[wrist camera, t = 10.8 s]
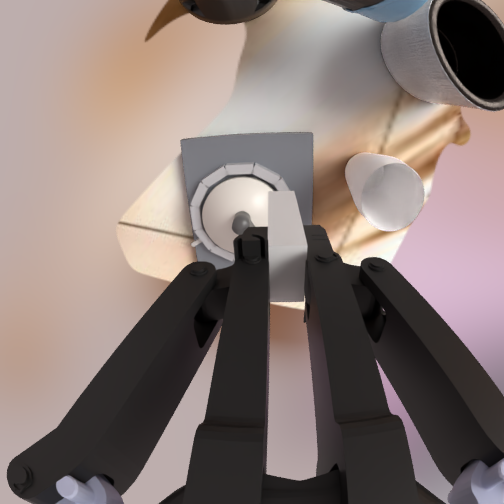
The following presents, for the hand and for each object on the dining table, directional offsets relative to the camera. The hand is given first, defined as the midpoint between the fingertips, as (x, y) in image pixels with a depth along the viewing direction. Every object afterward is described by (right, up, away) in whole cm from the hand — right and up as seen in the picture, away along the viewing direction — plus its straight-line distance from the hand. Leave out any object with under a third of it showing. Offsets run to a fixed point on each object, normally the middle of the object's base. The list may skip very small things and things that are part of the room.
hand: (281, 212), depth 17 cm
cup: (+16, +10, +24) cm, 30 cm away
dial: (-3, +4, +27) cm, 27 cm away
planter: (+25, +28, +13) cm, 40 cm away
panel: (-2, +4, +28) cm, 28 cm away
